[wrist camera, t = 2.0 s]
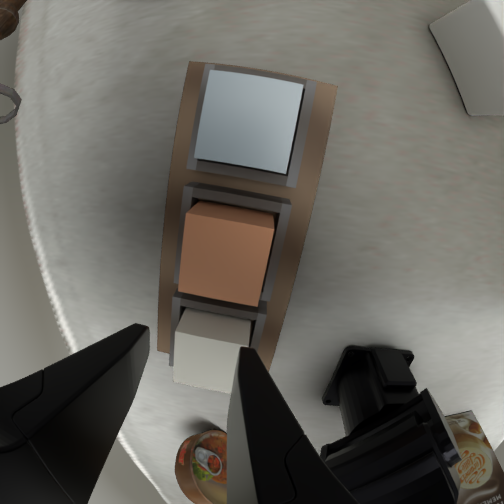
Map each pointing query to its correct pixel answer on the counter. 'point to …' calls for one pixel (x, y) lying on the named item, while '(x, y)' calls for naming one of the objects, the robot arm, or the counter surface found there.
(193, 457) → the tin
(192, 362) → the white button
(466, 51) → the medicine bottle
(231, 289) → the terracotta button
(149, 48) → the counter surface
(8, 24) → the coffee pot
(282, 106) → the slate button
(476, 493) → the coffee box
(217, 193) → the button panel
